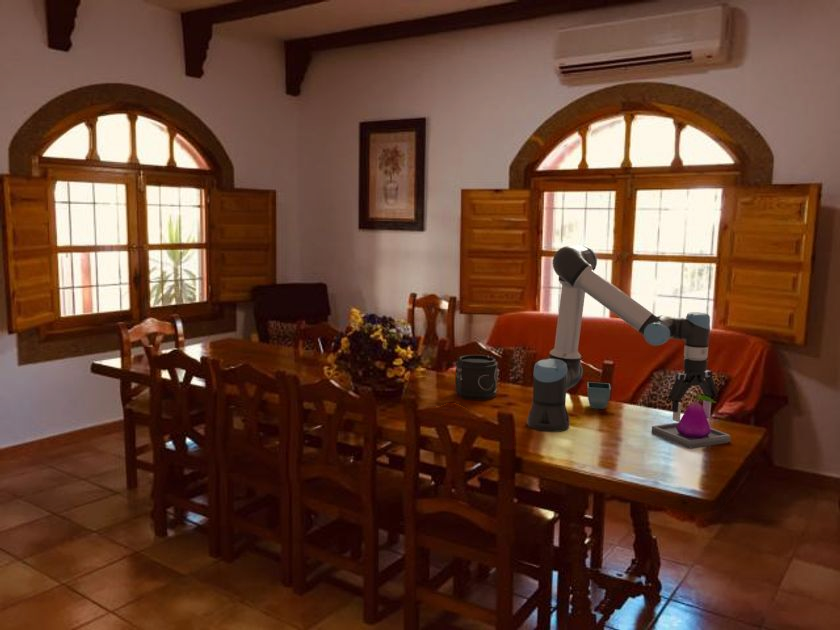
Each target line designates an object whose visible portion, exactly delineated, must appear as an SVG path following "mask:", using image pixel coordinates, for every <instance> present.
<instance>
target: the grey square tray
mask: <svg viewBox="0 0 840 630" xmlns="http://www.w3.org/2000/svg"><path fill="white" fill-rule="evenodd" d="M678 423H679V422H672V423H666V424H665V423H664V424H659V425H658V424H657V425H652V426H651V434H653V435H654V436H657V437H660V438H662V439H665V440H667V441H670V442H672V443H675V444H677V445H679V446H682V447H684V448H687V449H689V450H691V449H699V448H702V447H709V446H715V445H721V444H729V443H730V442H731V434H728V433H727V432H723V431H720V430H719V429H718V430H717V429H715V428H712V427H710V429H711V432H710V434H709V435H708V436H706V437H704V438H702V439H699V438H690V437H686V436H684V435H682V434H680V433H678V431H677V429H676V427H677V425H678ZM728 442H729V443H728Z"/></svg>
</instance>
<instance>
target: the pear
mask: <svg viewBox="0 0 840 630" xmlns="http://www.w3.org/2000/svg"><path fill="white" fill-rule="evenodd" d="M695 399H696V400H695V401H694V402H692V403H691V404H690V405H688V406H687V408H686V410H685V411H684V413H683V414H682V416H681V417H680V422H679V423H678V422H677V423H678V425H677V427H676V429H677V431H678V433H680V434H682V435H684V436H686V437H690V438H699V439H702V438H704V437H706V436H708V435H709V434H710V432H711V429H710V428H711V426H710V423H709V421H708V418H707V417H706V415H705V412H704V409H703V405H701V403H699V401H698V400H702V401H704V400H706V401H708V402H712V403H715V404H716V403H717V402H716V401H715V400H714V399H711V398H709V397H708V396H706V395H705V394H702V395H701V393H700V392H696V398H695Z"/></svg>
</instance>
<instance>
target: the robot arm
mask: <svg viewBox="0 0 840 630" xmlns="http://www.w3.org/2000/svg"><path fill="white" fill-rule="evenodd" d="M597 259H598V258H597V255H596V253H595V252H594V251H593V249H592V248H591V247H589V246H587V245H584V244H573V245H567V246H563V247H561V248H559V249H558V250H557V251H556V252H555V254H554V255H553V258H552V269H553V271H554V272H555V273H556V275H557V276H558V282H559V283H560V284H561V291H560V300H559V307H558V308H559V309H558V315H557V322H556V323H557V324H556V332H555V339H554V340H555V341H554V348H553V349H551V350H550V351H549V354H548V358H545V359H541V360H538V361H537V362H535V364H534V367H533V380H532V381H533V383H532V385H533V386H532V388H533V389H532V404H531V408H530V410H529V413H528V416H527V418H526V424H527V426H528V427H529V428H531V429H534V430H537V431H541V432H562V431H565V430H568V429H570V425H571V424H570V423H571V422H570V416H569V414H568V410H567V407H566V404H567V403H566V401H567V400H566V398H567V391H568V390H570V389H572V388H574V387H575V386H576V385H577V384H578V383H579V382H580V380H581V379H582V376H583V365H582V364H581V359H582V355H581V354H580V352H579V343H580V337H581V336H580V335H581V327H582V320H583V312H584V304H585V297H586V294H587V295H588V296H589V297H591V298H592V299H594V300H595V301H597V302H598V303H599V304H600V305H602V306H603V307H605V308H606V309H608V311H610V312H611V313H613V314H614V316H617V317H619V318H620V320H622V321H624V322H625V323H627V324H628V325H629V326H631V327H632V328H633V329H634V330H636V331H637V332H638V333H640V335H642V336H643V337H644V340H645V342H647V344H649V345H651V346H661V345H664V344H666V343H667V342H668V341H669V340H670V339H672V340H681V341H683V340H684V350H683V356H684V357H683V365H682V366H683V369H684V373H681V372H677V373H676V375H675V376H676V377H675V380H674V383H673V385H672V388H671V390H670V392H669V394H668V395H667V396H668V397H667V400H668V401H669V402H672V403H671V404H672V405H671V406H672V407H671V411H672V421H675V422H676V423H678V422H680V420H681V413H682V411H681V410H682V403H681V402H680V401H682V399H683V397H684V396H685V394H686V393H687V391H688V390H689V389H690V388H692V387H695V386H698V387H699V388H700V389H701V392H702V393H703V395H706V396H708V397H709V398H711V399H712V400H715V399H716V397H718V392H717V388H716V385H715V382H714V379H713V371H711V370H709V369H708V359H707V358H708V356H709V343H710V332H711V331H710V330H711V316H710V315H709V314H708V313H706V312H701V311H699V312H696V311H691V312H687V314H686V316H685V317H676V316H666V315H655V314H654V313H652V312H651V311H649V310H648V309H647V308H646V307H644V306H643V305H641V304H640V303H639V302H638V301H636V300H635V299H634V298H632V297H631V296H629V295H627V294H626V292H624V291H622V290H621V289H619V288H618V287H617V286H615V285H614V284H613V283H612V282H610V281H609V280H607V279H606V278H605V277H603V276H602V275H600V274H599V273H597V271H595V270H596V267H597V265H598V260H597ZM702 401H703V402H702V403H703V404H702V407H703V409H704V412H705V415H706V417H707V419H710V418H711V410H712V409H711V408H712V406H713V402H708V401H706V400H702Z"/></svg>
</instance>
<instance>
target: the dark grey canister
mask: <svg viewBox="0 0 840 630" xmlns="http://www.w3.org/2000/svg"><path fill="white" fill-rule="evenodd" d="M498 365H499V362H498V361H497V359H496V357H493V356H490V355H485V354H484V355H483V354H467V355H461V356H459V357H458V358H457V361H456V362H455V379H454V383H455V389H454V392H455V393H456V396H458V397H459V398H460V399H465V400H470V401H488V400H491V399H493V398H494V397H495V395H496V394H497V392H498V388H497V387H498V386H497V385H498Z"/></svg>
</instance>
